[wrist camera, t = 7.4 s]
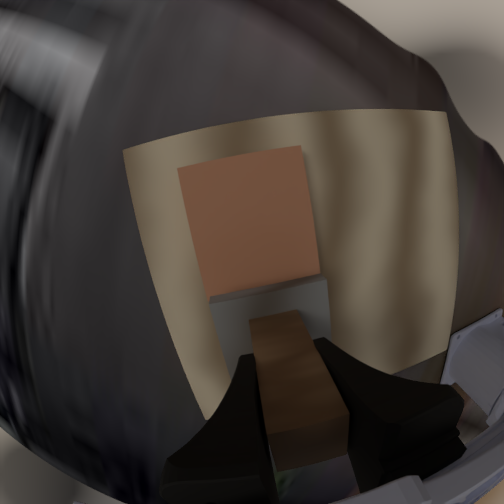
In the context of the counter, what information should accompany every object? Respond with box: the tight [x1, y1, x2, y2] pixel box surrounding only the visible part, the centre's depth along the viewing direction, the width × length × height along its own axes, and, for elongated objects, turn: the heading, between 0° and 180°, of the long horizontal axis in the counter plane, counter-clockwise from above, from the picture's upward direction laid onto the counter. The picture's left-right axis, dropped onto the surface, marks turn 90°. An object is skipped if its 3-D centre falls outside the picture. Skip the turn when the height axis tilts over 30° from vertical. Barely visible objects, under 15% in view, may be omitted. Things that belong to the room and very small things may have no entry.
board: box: [123, 109, 459, 420], centre depth 19 cm, size 24×22×1 cm
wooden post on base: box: [209, 273, 350, 472], centre depth 11 cm, size 6×5×8 cm
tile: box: [177, 145, 320, 302], centre depth 17 cm, size 7×2×8 cm
